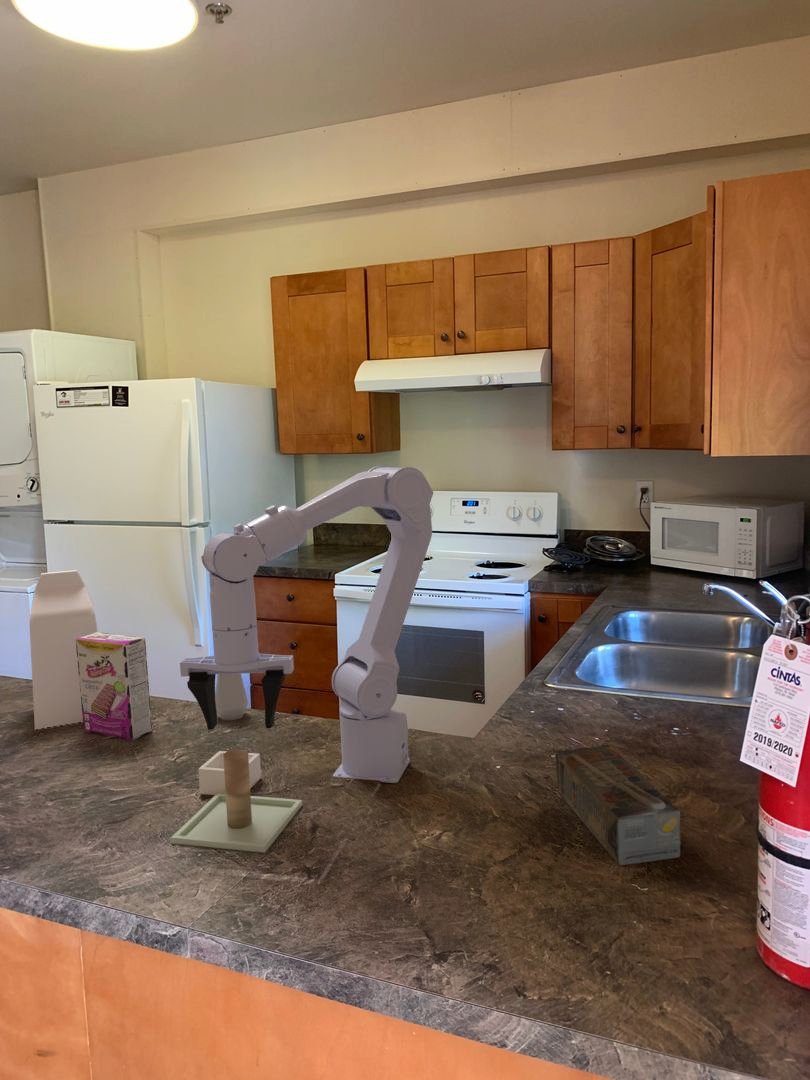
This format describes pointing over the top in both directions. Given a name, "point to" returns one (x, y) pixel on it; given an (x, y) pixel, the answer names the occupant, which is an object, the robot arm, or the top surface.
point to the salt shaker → (230, 696)
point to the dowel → (237, 788)
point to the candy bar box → (114, 685)
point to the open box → (214, 773)
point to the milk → (58, 646)
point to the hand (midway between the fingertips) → (241, 726)
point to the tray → (257, 837)
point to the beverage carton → (618, 805)
